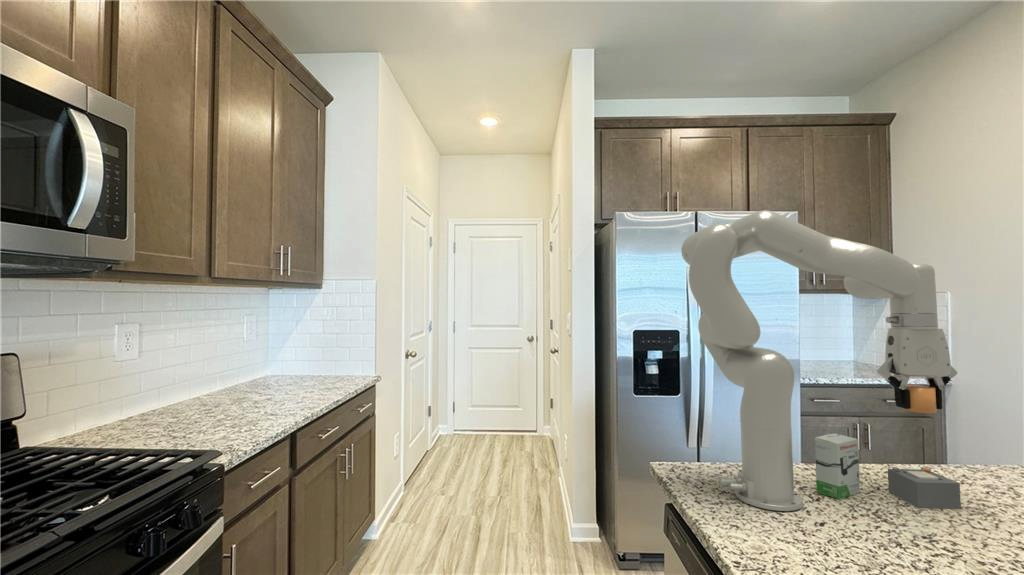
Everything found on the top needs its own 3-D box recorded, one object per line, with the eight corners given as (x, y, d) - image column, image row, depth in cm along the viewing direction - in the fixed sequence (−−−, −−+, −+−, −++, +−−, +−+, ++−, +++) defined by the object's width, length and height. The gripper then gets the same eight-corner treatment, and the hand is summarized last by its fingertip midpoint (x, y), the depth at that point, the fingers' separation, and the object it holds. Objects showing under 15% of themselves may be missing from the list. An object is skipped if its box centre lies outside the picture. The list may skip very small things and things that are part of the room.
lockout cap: (915, 413, 94) (913, 388, 94) (895, 407, 99) (894, 384, 99) (944, 413, 93) (942, 388, 93) (922, 407, 99) (921, 384, 99)
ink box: (839, 500, 95) (837, 443, 96) (815, 492, 100) (812, 437, 100) (862, 492, 99) (859, 437, 100) (837, 485, 104) (834, 432, 104)
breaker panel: (918, 507, 92) (916, 479, 92) (888, 491, 100) (887, 465, 100) (961, 508, 91) (959, 480, 91) (928, 493, 99) (926, 466, 99)
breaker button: (920, 499, 94) (919, 477, 94) (907, 492, 97) (906, 471, 97) (939, 500, 93) (938, 477, 94) (925, 493, 97) (924, 471, 97)
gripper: (883, 322, 94) (888, 411, 93) (973, 322, 93) (979, 412, 92) (859, 321, 102) (863, 403, 101) (942, 321, 100) (947, 404, 99)
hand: (918, 406), depth 96 cm, fingers closed on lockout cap, 5 cm apart
